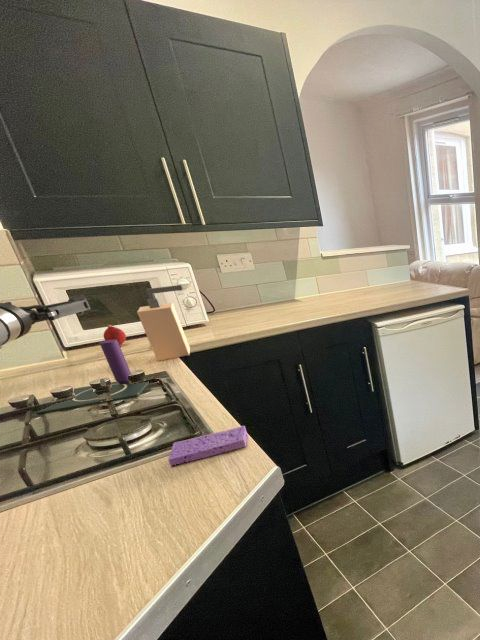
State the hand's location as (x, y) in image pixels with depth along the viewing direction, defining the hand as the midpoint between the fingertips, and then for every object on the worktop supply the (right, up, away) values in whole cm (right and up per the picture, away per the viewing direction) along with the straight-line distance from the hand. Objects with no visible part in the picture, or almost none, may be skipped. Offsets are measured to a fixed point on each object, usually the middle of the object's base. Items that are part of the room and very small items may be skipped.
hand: (49, 303), depth 102 cm
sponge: (+53, -33, -19) cm, 65 cm away
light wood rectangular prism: (+2, -9, +39) cm, 40 cm away
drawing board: (+3, -22, +10) cm, 25 cm away
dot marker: (+5, -19, +15) cm, 25 cm away
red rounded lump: (-30, -6, +50) cm, 59 cm away
